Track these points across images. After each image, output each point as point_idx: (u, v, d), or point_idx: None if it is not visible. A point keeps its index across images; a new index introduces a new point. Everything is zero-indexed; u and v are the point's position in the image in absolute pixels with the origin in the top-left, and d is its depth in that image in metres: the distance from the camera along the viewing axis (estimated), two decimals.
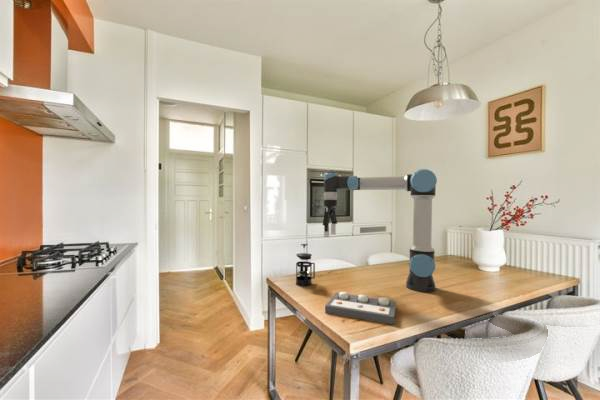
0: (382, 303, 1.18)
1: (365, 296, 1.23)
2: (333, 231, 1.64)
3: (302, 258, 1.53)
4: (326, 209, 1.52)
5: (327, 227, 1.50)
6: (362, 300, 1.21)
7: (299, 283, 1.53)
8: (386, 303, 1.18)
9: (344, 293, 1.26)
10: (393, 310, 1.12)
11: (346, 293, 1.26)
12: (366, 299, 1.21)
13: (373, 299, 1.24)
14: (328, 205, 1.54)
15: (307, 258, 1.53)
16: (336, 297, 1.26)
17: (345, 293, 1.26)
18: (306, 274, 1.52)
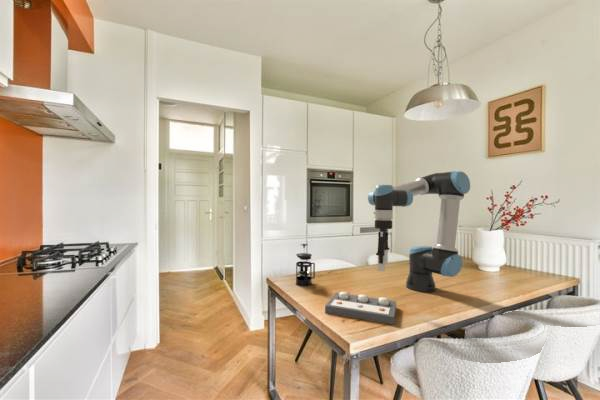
0: (382, 303, 1.18)
1: (365, 296, 1.23)
2: (385, 260, 1.26)
3: (302, 258, 1.53)
4: (381, 234, 1.14)
5: (382, 258, 1.13)
6: (362, 300, 1.21)
7: (299, 283, 1.53)
8: (386, 303, 1.18)
9: (344, 293, 1.26)
10: (393, 310, 1.12)
11: (346, 293, 1.26)
12: (366, 299, 1.21)
13: (373, 299, 1.24)
14: (382, 228, 1.17)
15: (307, 258, 1.53)
16: (336, 297, 1.26)
17: (345, 293, 1.26)
18: (306, 274, 1.52)
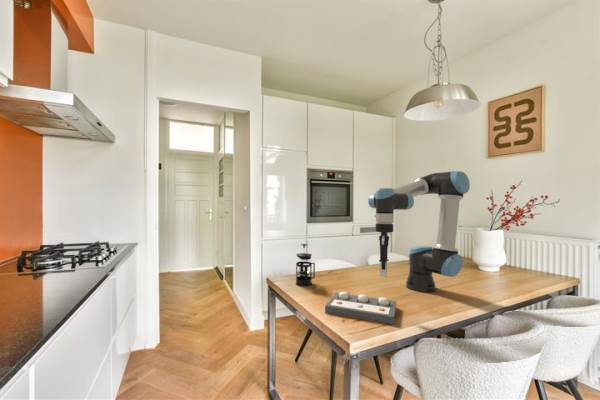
0: (382, 303, 1.18)
1: (365, 296, 1.23)
2: None
3: (302, 258, 1.53)
4: (382, 243, 1.14)
5: (385, 264, 1.18)
6: (362, 300, 1.21)
7: (299, 283, 1.53)
8: (386, 303, 1.18)
9: (344, 293, 1.26)
10: (393, 310, 1.12)
11: (346, 293, 1.26)
12: (366, 299, 1.21)
13: (373, 299, 1.24)
14: (383, 231, 1.16)
15: (307, 258, 1.53)
16: (336, 297, 1.26)
17: (345, 293, 1.26)
18: (306, 274, 1.52)
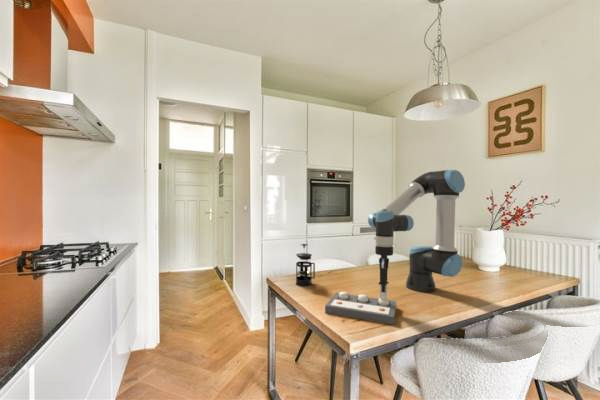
0: (382, 303, 1.18)
1: (365, 296, 1.23)
2: None
3: (302, 258, 1.53)
4: (382, 266, 1.14)
5: (385, 287, 1.18)
6: (362, 300, 1.21)
7: (299, 283, 1.53)
8: (386, 303, 1.18)
9: (344, 293, 1.26)
10: (393, 310, 1.12)
11: (346, 293, 1.26)
12: (366, 299, 1.21)
13: (373, 299, 1.24)
14: (383, 254, 1.16)
15: (307, 258, 1.53)
16: (336, 297, 1.26)
17: (345, 293, 1.26)
18: (306, 274, 1.52)
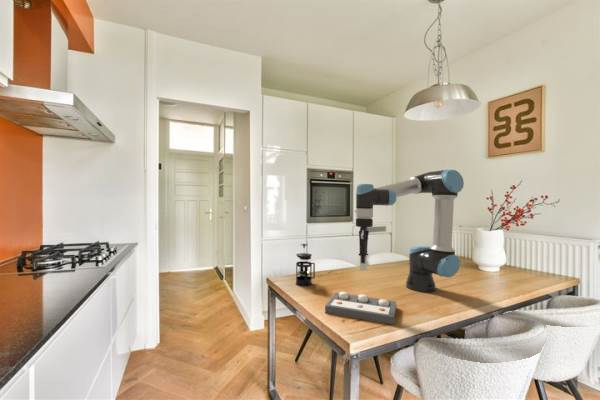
0: None
1: (365, 296, 1.23)
2: None
3: (302, 258, 1.53)
4: (361, 237, 1.17)
5: (364, 258, 1.21)
6: (362, 300, 1.21)
7: (299, 283, 1.53)
8: (386, 305, 1.18)
9: (344, 293, 1.26)
10: (393, 310, 1.12)
11: (346, 293, 1.26)
12: (366, 299, 1.21)
13: (373, 299, 1.24)
14: (362, 226, 1.20)
15: (307, 258, 1.53)
16: (336, 297, 1.26)
17: (345, 293, 1.26)
18: (306, 274, 1.52)
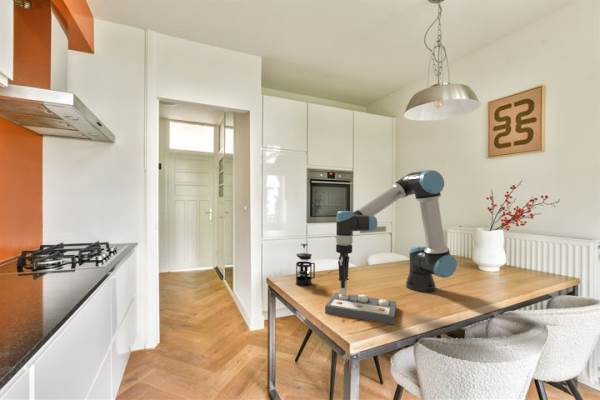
0: None
1: (365, 296, 1.23)
2: None
3: (302, 258, 1.53)
4: (340, 264, 1.21)
5: (344, 283, 1.25)
6: (362, 300, 1.21)
7: (299, 283, 1.53)
8: (386, 305, 1.18)
9: (344, 295, 1.26)
10: (393, 310, 1.12)
11: (345, 295, 1.26)
12: (366, 299, 1.21)
13: (373, 299, 1.24)
14: (342, 252, 1.23)
15: (307, 258, 1.53)
16: (336, 297, 1.26)
17: (345, 295, 1.26)
18: (306, 274, 1.52)
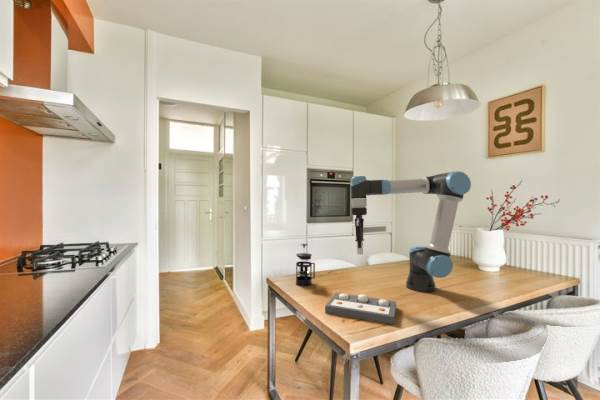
0: None
1: (365, 296, 1.23)
2: None
3: (302, 258, 1.53)
4: (357, 224, 1.30)
5: (361, 243, 1.34)
6: (362, 300, 1.21)
7: (299, 283, 1.53)
8: (386, 305, 1.18)
9: (344, 295, 1.26)
10: (393, 310, 1.12)
11: (345, 295, 1.26)
12: (366, 299, 1.21)
13: (373, 299, 1.24)
14: (357, 214, 1.32)
15: (307, 258, 1.53)
16: (336, 297, 1.26)
17: (345, 295, 1.26)
18: (306, 274, 1.52)
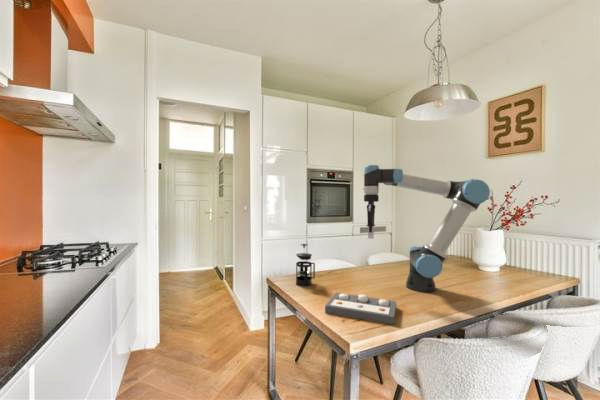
0: None
1: (365, 296, 1.23)
2: None
3: (302, 258, 1.53)
4: (369, 209, 1.39)
5: (372, 228, 1.43)
6: (362, 300, 1.21)
7: (299, 283, 1.53)
8: (386, 305, 1.18)
9: (344, 295, 1.26)
10: (393, 310, 1.12)
11: (345, 295, 1.26)
12: (366, 299, 1.21)
13: (373, 299, 1.24)
14: (370, 200, 1.41)
15: (307, 258, 1.53)
16: (336, 297, 1.26)
17: (345, 295, 1.26)
18: (306, 274, 1.52)
